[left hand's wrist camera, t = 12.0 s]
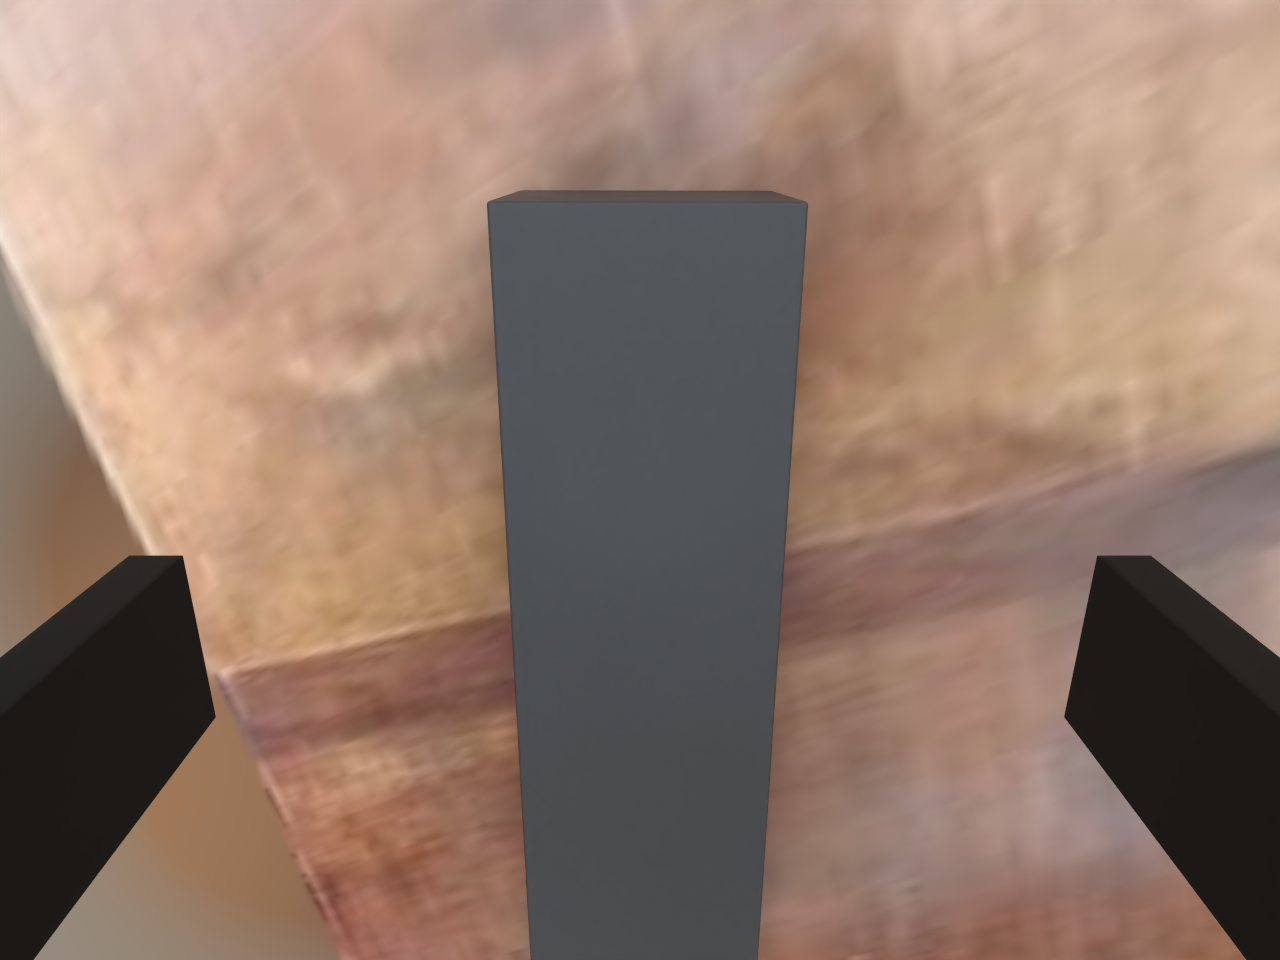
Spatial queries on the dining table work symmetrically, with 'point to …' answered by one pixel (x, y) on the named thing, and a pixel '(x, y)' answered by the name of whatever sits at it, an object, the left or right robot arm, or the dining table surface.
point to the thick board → (645, 553)
